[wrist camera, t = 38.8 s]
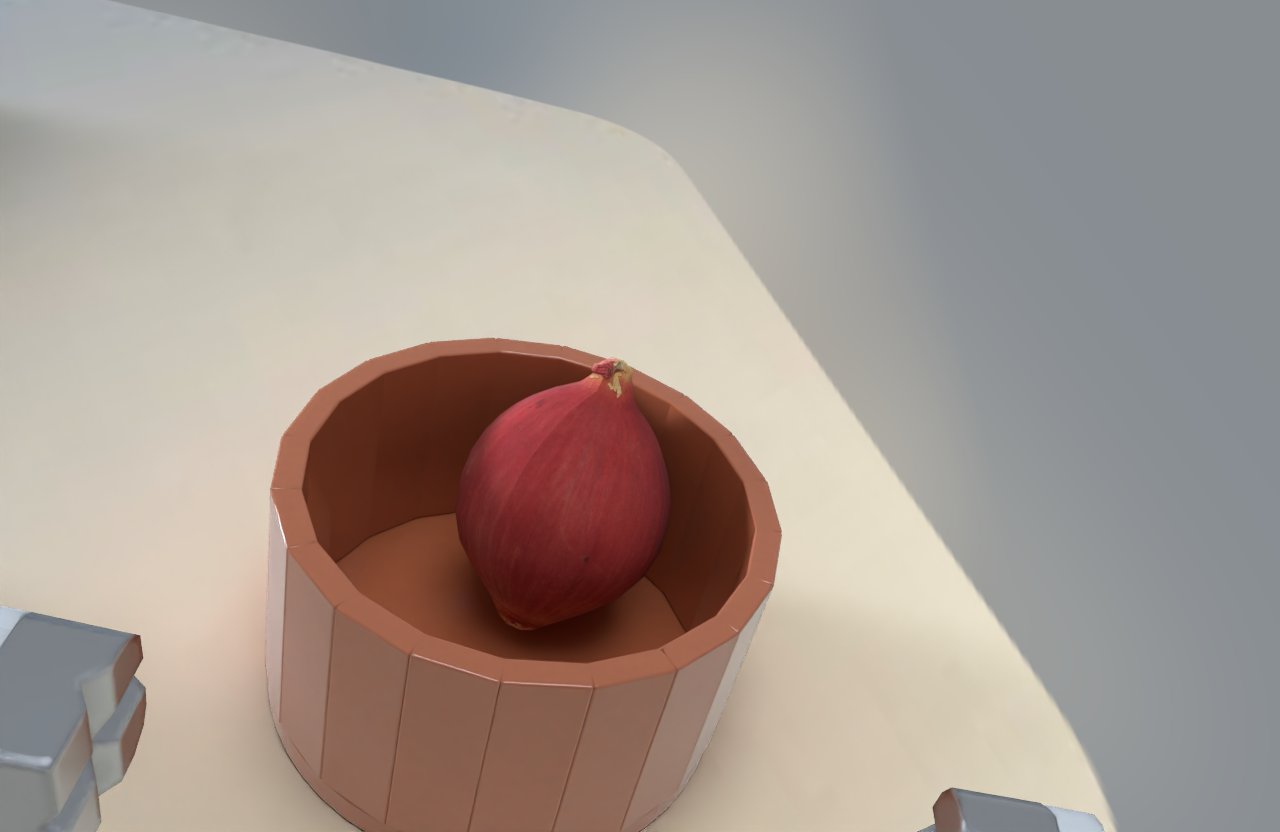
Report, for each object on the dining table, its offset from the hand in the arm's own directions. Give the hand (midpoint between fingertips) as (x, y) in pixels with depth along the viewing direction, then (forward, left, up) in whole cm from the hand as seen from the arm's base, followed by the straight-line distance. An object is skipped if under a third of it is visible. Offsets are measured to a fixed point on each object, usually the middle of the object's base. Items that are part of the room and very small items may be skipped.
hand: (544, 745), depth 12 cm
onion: (-2, -15, -15) cm, 21 cm away
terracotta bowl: (-2, -14, -16) cm, 22 cm away
